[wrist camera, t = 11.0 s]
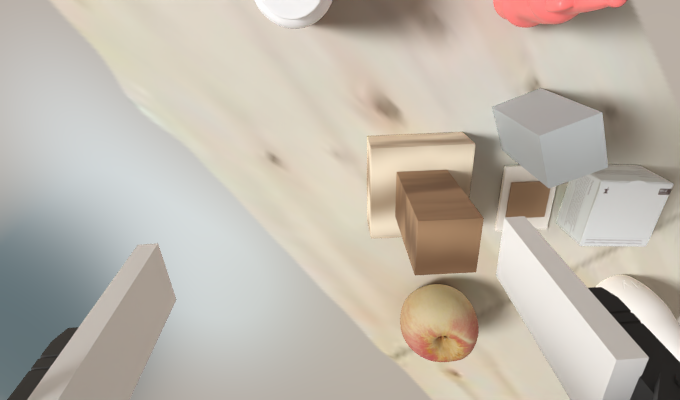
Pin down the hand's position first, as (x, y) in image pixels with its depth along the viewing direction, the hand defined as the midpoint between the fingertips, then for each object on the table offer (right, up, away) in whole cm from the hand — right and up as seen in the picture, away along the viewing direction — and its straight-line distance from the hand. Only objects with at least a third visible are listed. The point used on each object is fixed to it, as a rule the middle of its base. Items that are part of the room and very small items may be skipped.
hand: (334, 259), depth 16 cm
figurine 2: (+36, -10, +37) cm, 53 cm away
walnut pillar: (+8, +3, +25) cm, 27 cm away
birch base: (+8, +5, +29) cm, 30 cm away
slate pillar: (+19, +11, +26) cm, 34 cm away
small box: (+30, +3, +31) cm, 43 cm away
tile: (+21, +3, +30) cm, 37 cm away
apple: (+12, -10, +37) cm, 40 cm away
